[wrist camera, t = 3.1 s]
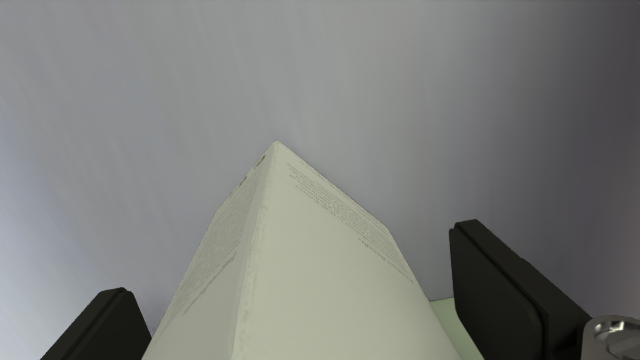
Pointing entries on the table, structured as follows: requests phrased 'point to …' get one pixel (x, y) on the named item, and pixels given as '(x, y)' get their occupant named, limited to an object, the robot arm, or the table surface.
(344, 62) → the table surface
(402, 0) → the table surface
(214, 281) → the skincare box
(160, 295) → the table surface
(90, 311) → the robot arm
